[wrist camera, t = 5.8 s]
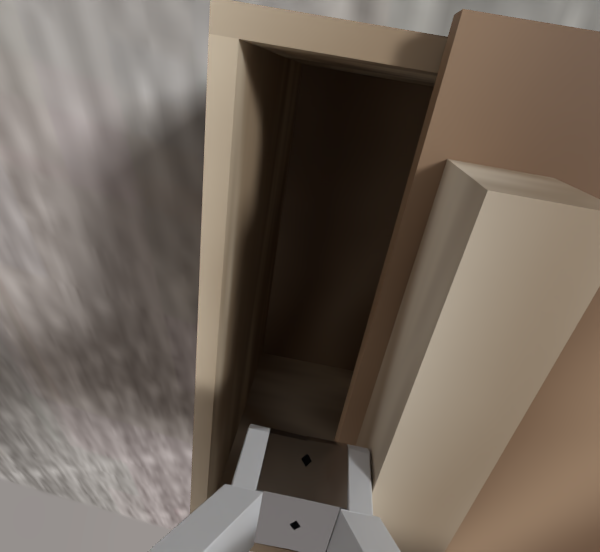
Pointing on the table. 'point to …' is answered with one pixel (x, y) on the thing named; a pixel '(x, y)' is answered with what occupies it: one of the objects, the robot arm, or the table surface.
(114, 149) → the table surface
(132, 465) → the table surface
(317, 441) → the robot arm
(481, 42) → the lid
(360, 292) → the box
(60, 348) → the table surface
